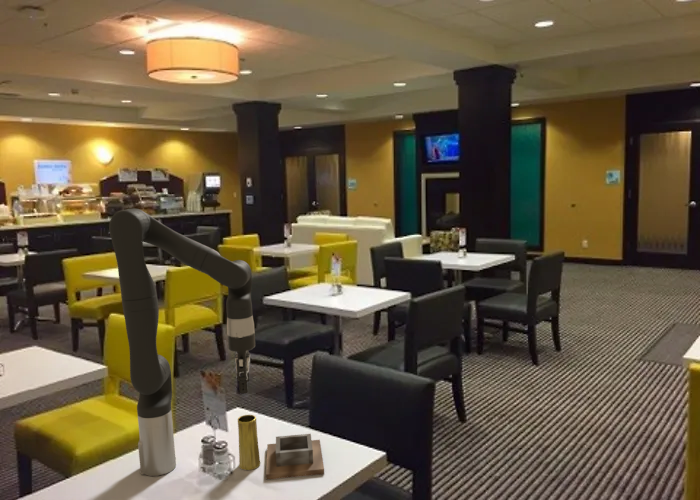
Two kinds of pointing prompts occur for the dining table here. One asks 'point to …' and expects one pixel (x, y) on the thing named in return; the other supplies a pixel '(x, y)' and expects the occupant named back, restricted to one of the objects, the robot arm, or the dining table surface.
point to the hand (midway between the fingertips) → (244, 387)
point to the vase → (248, 443)
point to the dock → (294, 457)
